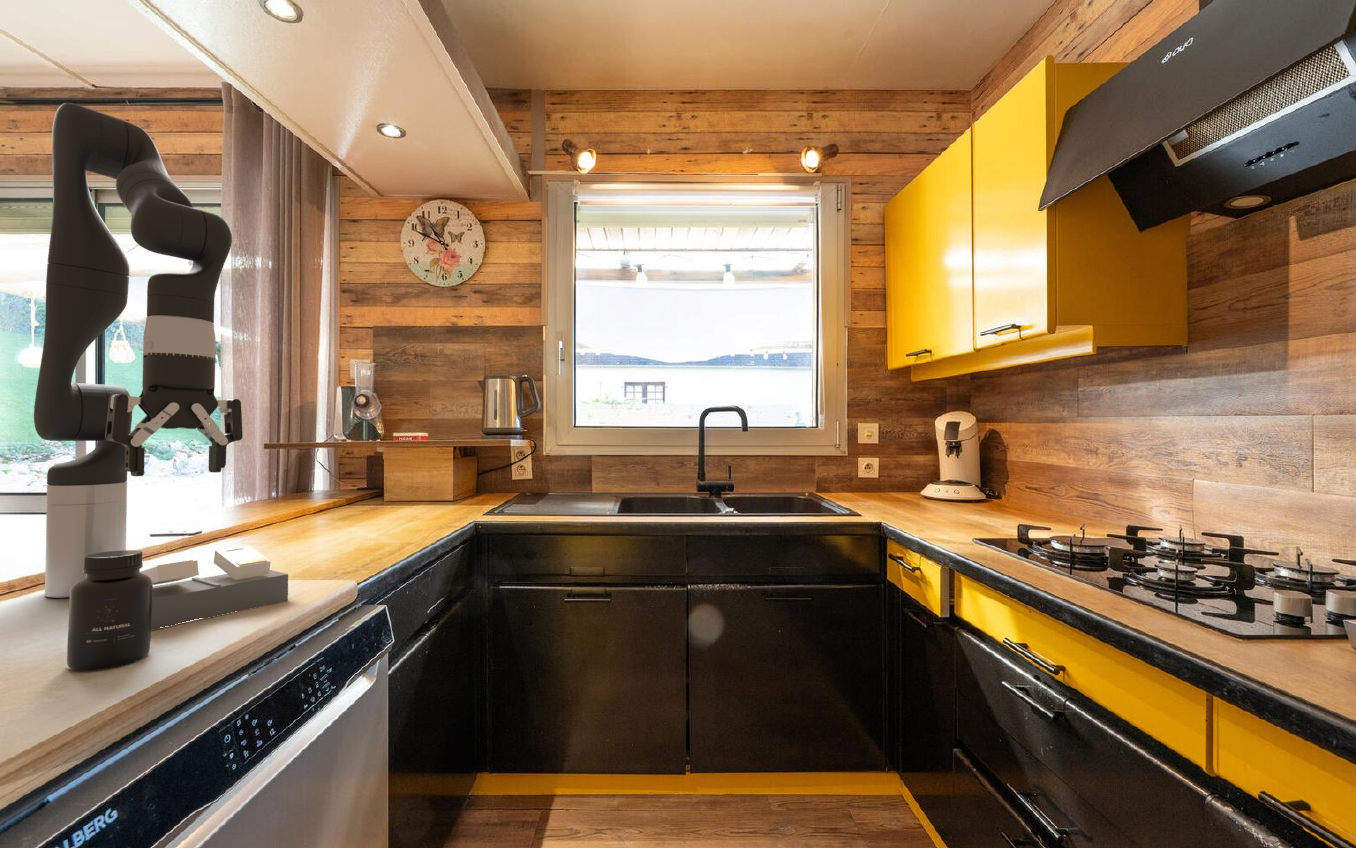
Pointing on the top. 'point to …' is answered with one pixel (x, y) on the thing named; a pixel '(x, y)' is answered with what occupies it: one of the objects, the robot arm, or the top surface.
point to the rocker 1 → (172, 572)
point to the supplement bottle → (110, 612)
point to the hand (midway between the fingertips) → (177, 474)
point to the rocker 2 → (242, 562)
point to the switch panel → (214, 597)
